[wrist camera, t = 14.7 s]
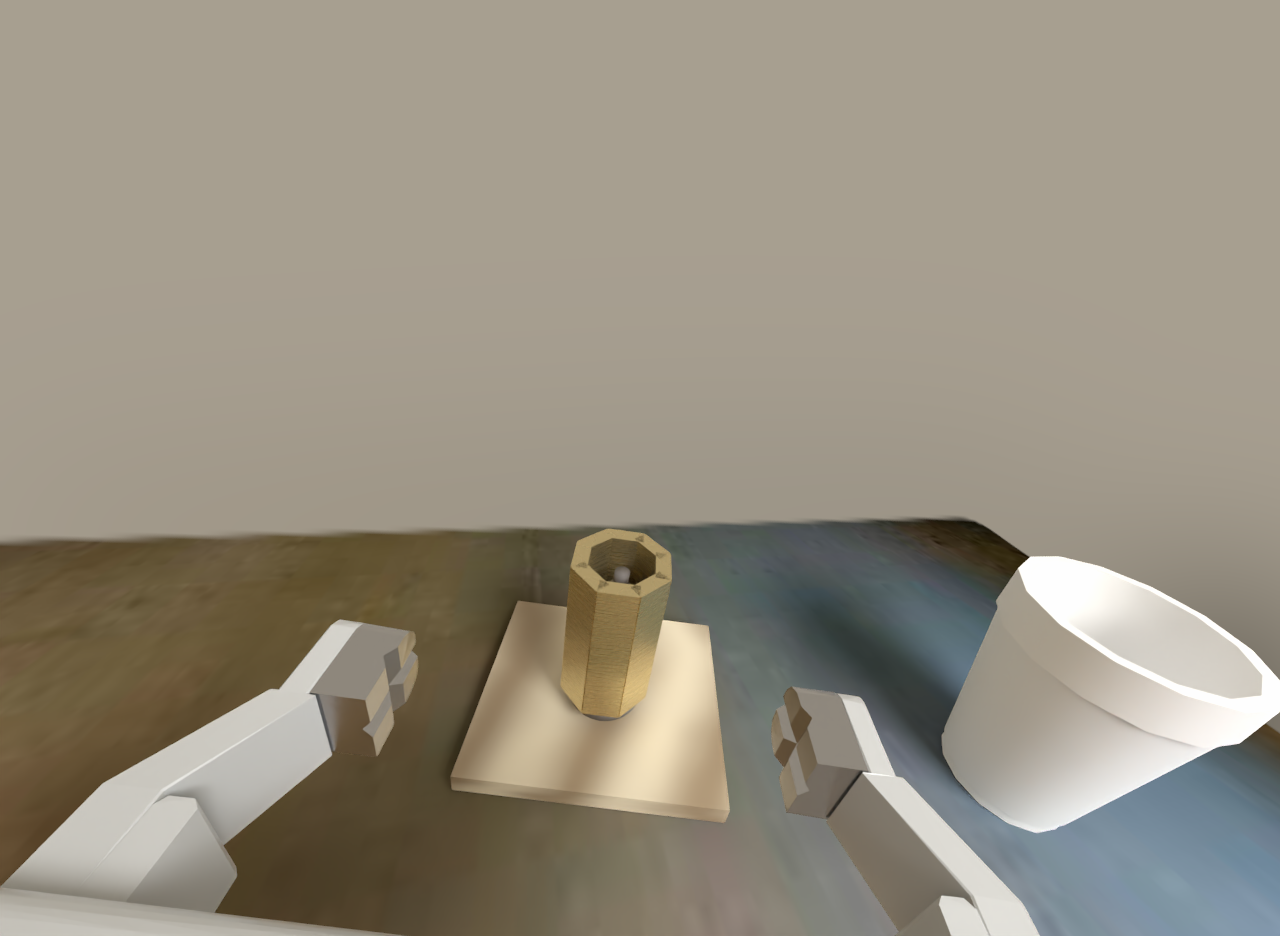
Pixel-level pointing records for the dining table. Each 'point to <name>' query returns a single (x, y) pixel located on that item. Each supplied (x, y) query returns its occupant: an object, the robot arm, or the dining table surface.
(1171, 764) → the foam cup
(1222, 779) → the dining table surface
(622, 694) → the collar
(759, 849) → the dining table surface
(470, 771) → the shaft stand
